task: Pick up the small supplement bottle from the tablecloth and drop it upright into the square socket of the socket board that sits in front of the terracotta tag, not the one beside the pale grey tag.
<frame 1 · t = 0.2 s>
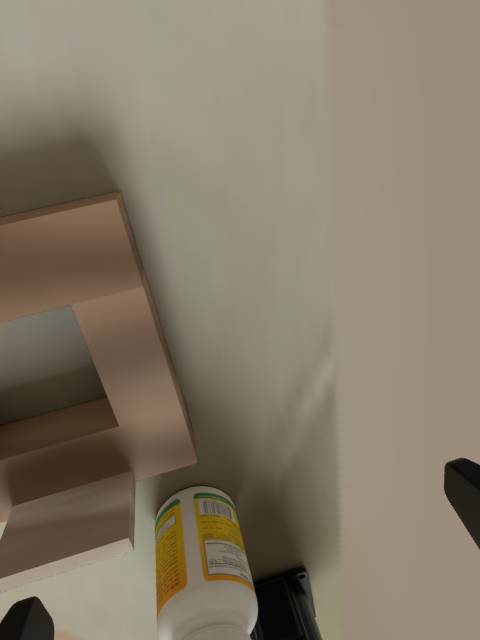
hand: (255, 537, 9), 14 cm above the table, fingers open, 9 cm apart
supplement bottle: (194, 511, 28), on the table
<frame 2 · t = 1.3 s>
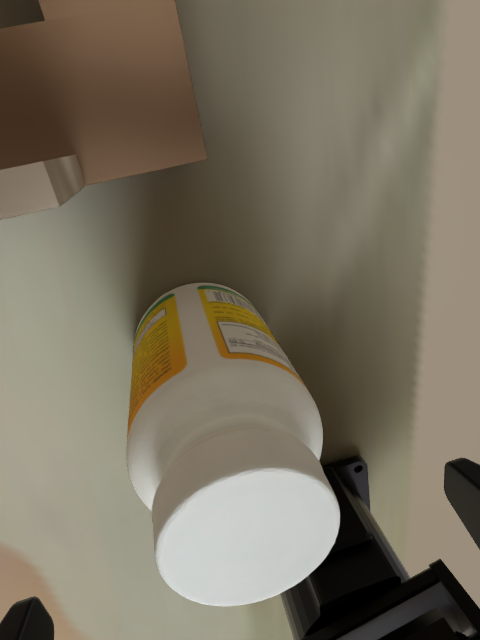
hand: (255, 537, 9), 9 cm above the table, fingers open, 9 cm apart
supplement bottle: (198, 338, 17), on the table
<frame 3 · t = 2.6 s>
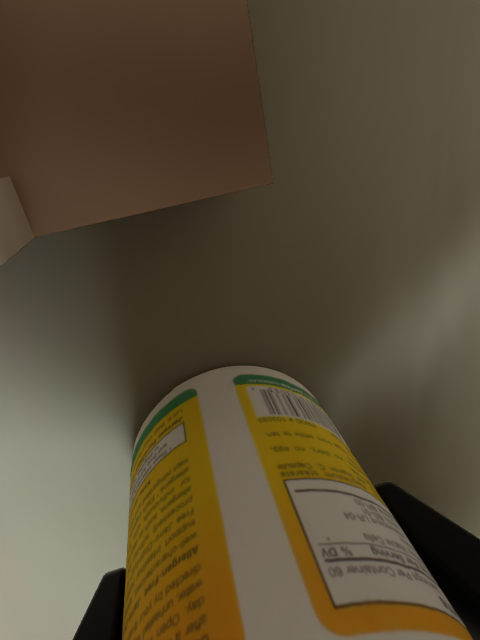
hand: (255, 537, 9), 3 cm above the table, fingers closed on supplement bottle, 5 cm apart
supplement bottle: (228, 439, 12), on the table, touching gripper
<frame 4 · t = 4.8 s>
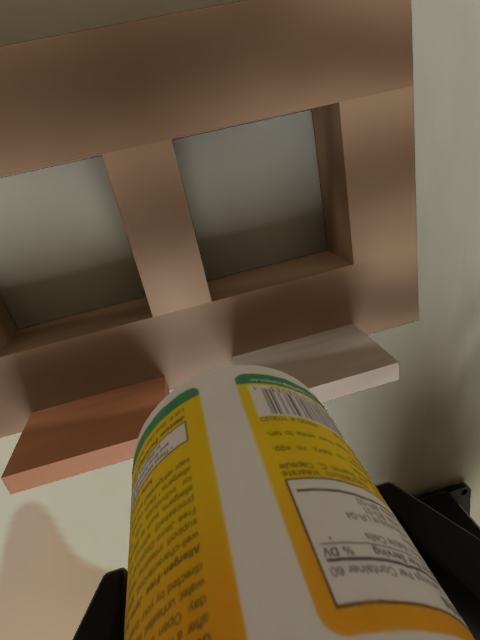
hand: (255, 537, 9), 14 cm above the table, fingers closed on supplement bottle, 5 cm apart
socket board: (160, 222, 19), on the table
supplement bottle: (229, 438, 12), point 10 cm above the table, touching gripper
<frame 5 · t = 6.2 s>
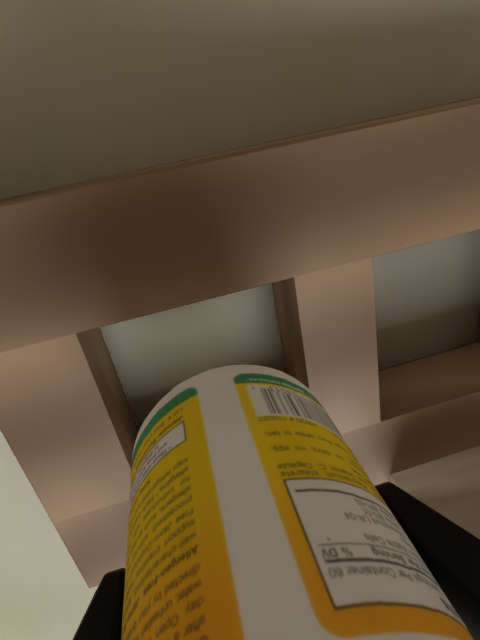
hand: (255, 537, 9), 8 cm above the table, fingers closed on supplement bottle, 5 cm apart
socket board: (310, 322, 17), on the table
supplement bottle: (228, 438, 12), point 5 cm above the table, touching gripper
when the fingers open (4 cm above the table, at t = 7.3 s): supplement bottle drops 1 cm, resting in socket board.
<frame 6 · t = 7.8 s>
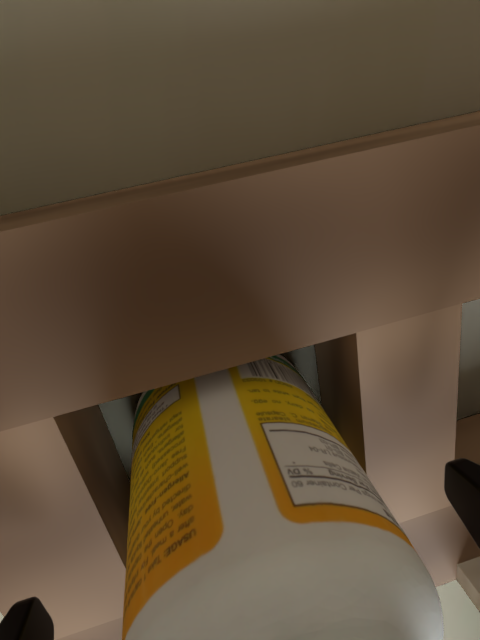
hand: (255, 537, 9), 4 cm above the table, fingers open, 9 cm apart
socket board: (357, 373, 13), on the table
supplement bottle: (219, 408, 13), resting in socket board
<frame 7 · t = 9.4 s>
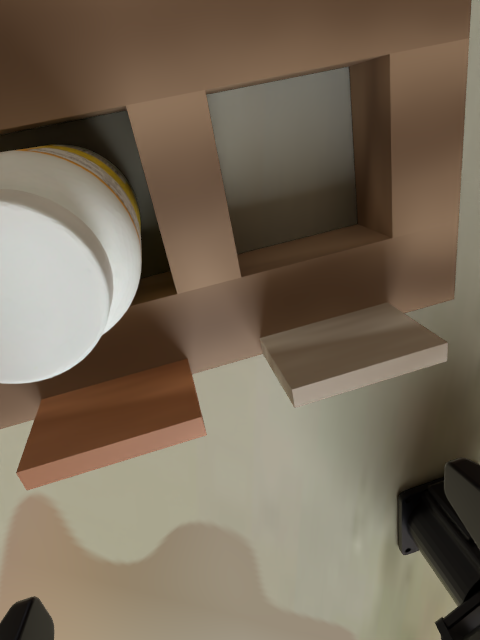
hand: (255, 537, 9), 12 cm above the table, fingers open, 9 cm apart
socket board: (181, 190, 17), on the table
supplement bottle: (72, 214, 17), resting in socket board
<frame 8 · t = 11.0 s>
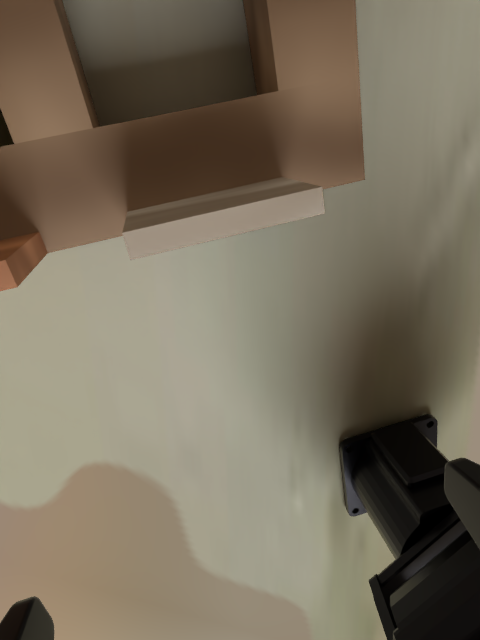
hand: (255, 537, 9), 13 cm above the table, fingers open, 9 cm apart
socket board: (36, 40, 15), on the table
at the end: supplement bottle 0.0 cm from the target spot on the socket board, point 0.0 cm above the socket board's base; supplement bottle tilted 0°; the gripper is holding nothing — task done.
